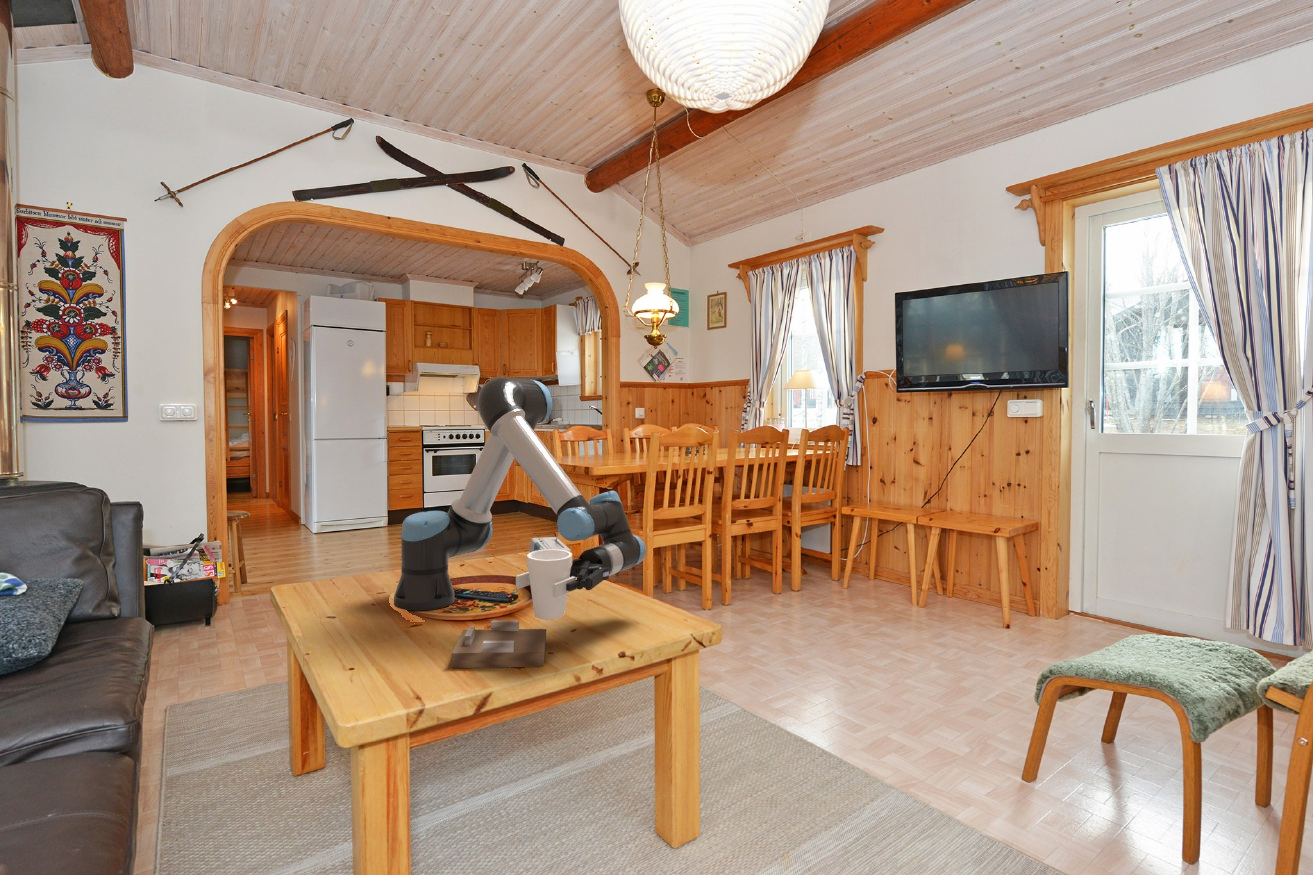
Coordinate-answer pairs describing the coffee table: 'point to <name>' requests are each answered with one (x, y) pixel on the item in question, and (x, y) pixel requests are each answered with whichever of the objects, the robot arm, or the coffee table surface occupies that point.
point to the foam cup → (548, 581)
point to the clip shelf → (500, 647)
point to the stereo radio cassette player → (547, 544)
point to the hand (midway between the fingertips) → (535, 586)
